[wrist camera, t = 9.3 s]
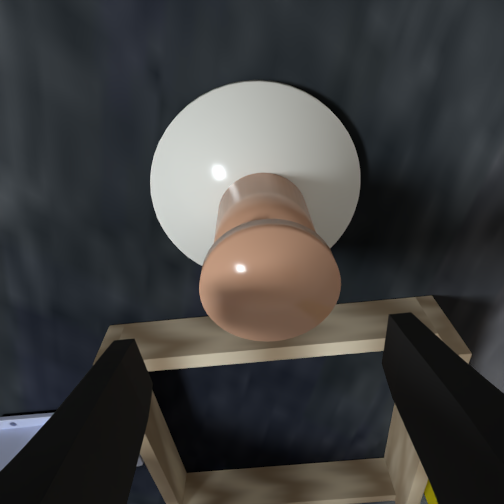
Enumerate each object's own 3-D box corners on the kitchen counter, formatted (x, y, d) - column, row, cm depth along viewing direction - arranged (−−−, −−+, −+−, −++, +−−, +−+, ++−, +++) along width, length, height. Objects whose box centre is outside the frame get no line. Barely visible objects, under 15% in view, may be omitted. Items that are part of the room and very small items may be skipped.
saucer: (177, 280, 21) (176, 286, 20) (126, 94, 15) (122, 96, 15) (351, 263, 20) (354, 269, 20) (363, 66, 15) (368, 67, 14)
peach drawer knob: (221, 262, 19) (213, 347, 14) (202, 174, 16) (184, 240, 11) (314, 250, 19) (340, 334, 14) (310, 159, 16) (341, 220, 11)
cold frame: (178, 479, 33) (170, 537, 29) (109, 325, 22) (82, 387, 19) (393, 462, 33) (413, 520, 29) (431, 295, 22) (472, 353, 18)
